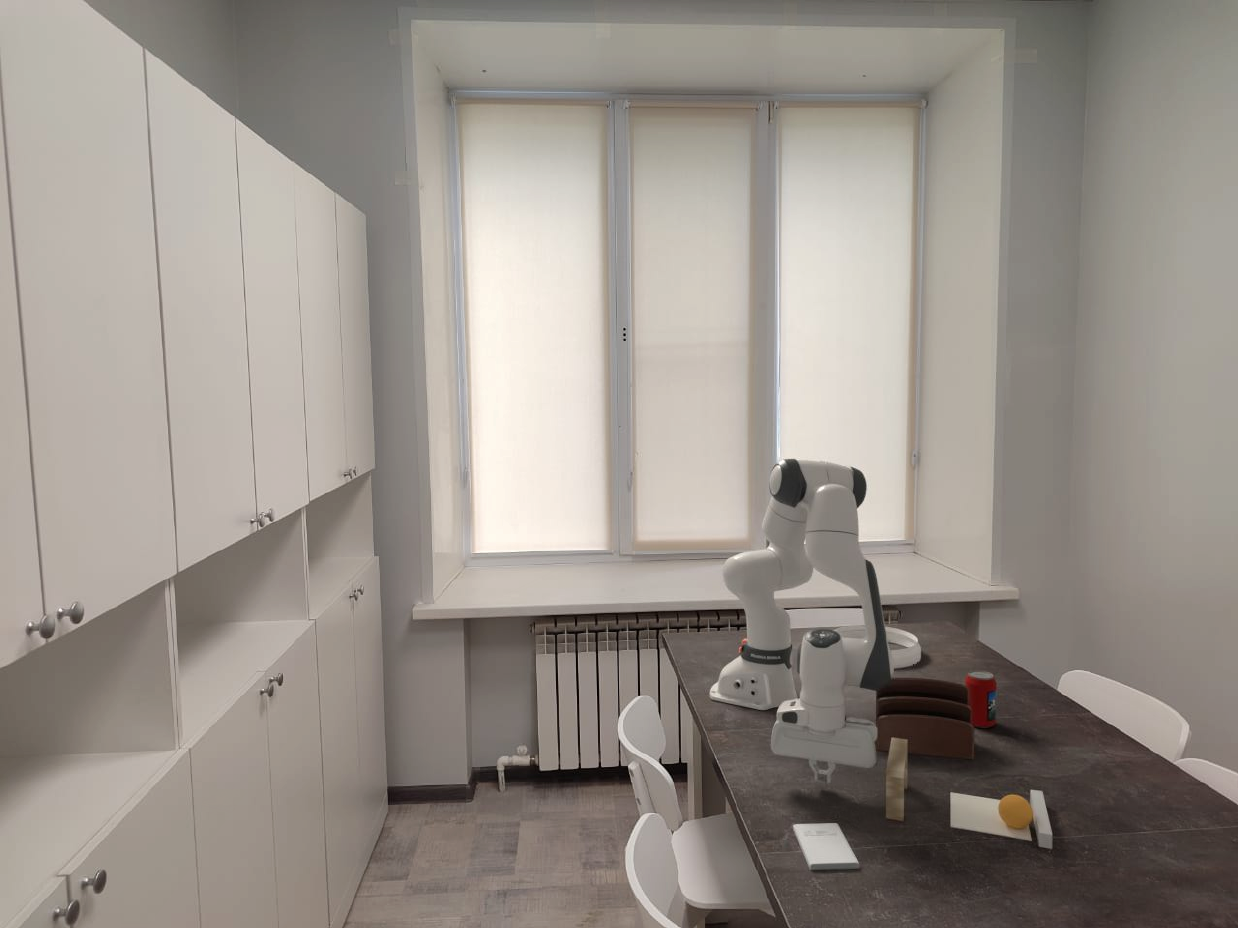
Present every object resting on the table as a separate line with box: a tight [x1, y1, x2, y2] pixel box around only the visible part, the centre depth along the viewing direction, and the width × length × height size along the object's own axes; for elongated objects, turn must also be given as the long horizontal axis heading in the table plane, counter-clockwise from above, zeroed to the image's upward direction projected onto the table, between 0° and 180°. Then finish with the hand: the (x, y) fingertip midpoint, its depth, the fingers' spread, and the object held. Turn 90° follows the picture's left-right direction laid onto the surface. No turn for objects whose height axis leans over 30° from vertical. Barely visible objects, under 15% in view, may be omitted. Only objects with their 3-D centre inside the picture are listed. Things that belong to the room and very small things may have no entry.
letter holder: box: [875, 677, 975, 760], centre depth 175 cm, size 10×20×14 cm, turn 73°
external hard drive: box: [792, 822, 860, 871], centre depth 137 cm, size 2×8×12 cm
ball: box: [998, 794, 1034, 828], centre depth 142 cm, size 6×6×6 cm
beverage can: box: [964, 669, 998, 729], centre depth 186 cm, size 7×7×12 cm
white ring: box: [832, 624, 922, 669], centre depth 238 cm, size 27×27×6 cm
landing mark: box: [949, 791, 1033, 842], centre depth 146 cm, size 13×13×1 cm
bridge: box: [885, 738, 908, 822], centre depth 152 cm, size 3×15×9 cm, turn 157°
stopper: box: [1029, 789, 1053, 850], centre depth 142 cm, size 2×16×2 cm, turn 157°
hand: (822, 780), depth 157 cm, fingers closed
